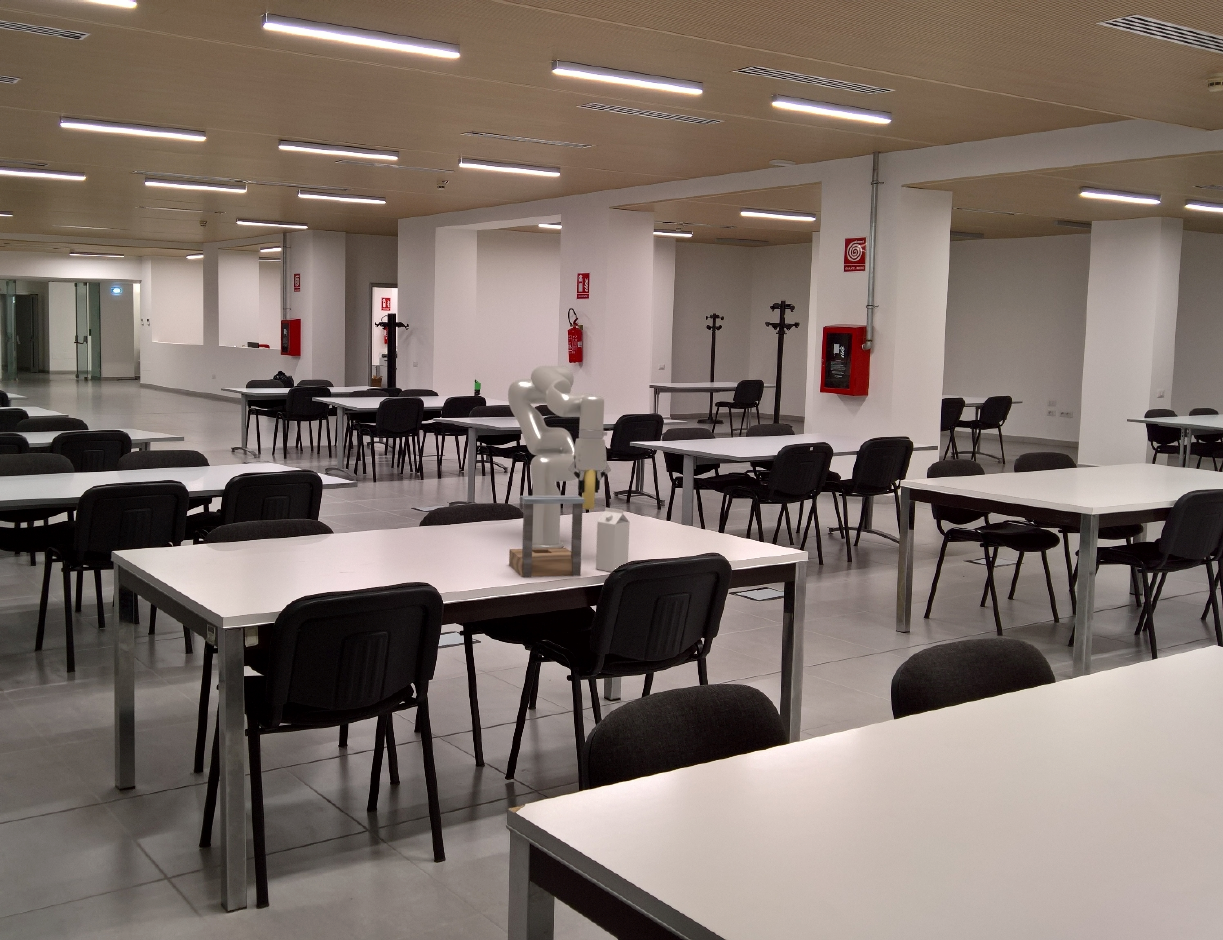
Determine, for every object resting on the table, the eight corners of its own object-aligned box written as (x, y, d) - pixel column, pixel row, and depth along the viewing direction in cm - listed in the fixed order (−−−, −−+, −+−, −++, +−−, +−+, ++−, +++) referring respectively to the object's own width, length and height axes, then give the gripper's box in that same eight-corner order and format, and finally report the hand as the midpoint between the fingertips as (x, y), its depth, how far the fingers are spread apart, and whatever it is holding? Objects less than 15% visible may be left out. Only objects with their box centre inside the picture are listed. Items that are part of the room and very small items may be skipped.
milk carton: (610, 566, 352) (612, 506, 350) (627, 569, 347) (630, 509, 345) (595, 569, 346) (597, 508, 344) (613, 572, 342) (615, 511, 340)
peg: (580, 507, 359) (582, 463, 357) (592, 507, 360) (594, 463, 358) (583, 509, 355) (585, 465, 353) (595, 509, 356) (597, 465, 354)
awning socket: (509, 564, 348) (511, 490, 346) (565, 563, 354) (567, 489, 351) (523, 577, 330) (525, 499, 327) (581, 576, 335) (584, 498, 333)
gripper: (612, 434, 360) (610, 490, 363) (562, 433, 355) (560, 490, 358) (619, 436, 353) (617, 494, 356) (568, 435, 348) (566, 494, 351)
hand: (588, 491), depth 357 cm, fingers closed on peg, 4 cm apart
